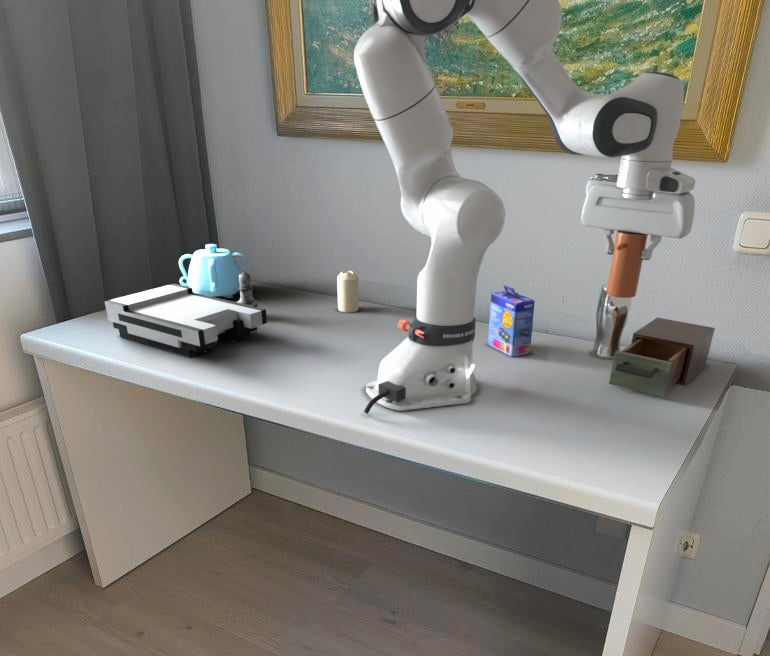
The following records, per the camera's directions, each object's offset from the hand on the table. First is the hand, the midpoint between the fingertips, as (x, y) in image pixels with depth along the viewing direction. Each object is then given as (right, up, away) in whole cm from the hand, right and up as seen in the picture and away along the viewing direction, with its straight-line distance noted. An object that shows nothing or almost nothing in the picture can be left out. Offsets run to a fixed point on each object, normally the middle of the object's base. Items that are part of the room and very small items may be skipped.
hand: (627, 256), depth 136 cm
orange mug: (-1, -7, +3) cm, 7 cm away
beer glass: (+4, -13, +26) cm, 29 cm away
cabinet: (+14, -18, +18) cm, 29 cm away
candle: (-56, +5, +55) cm, 79 cm away
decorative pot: (-95, +13, +68) cm, 117 cm away
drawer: (+6, -23, +8) cm, 25 cm away
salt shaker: (-82, +2, +50) cm, 96 cm away
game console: (-93, -7, +35) cm, 100 cm away
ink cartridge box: (-18, -11, +28) cm, 36 cm away
